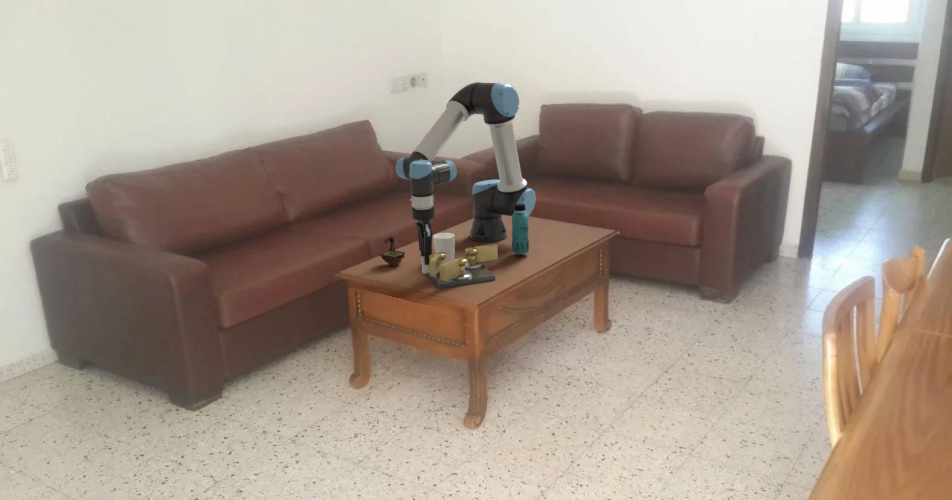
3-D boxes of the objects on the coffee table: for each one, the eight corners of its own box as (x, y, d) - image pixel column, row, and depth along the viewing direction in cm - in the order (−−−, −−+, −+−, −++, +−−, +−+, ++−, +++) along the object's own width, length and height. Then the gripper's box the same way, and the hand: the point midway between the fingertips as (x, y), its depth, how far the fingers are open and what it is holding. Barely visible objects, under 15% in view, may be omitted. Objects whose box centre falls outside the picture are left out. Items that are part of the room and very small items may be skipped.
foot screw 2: (460, 271, 277) (460, 254, 275) (471, 273, 274) (470, 257, 272) (437, 280, 268) (436, 264, 266) (447, 283, 265) (446, 266, 263)
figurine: (410, 263, 294) (408, 232, 290) (397, 270, 288) (395, 238, 284) (389, 260, 299) (387, 229, 295) (376, 266, 293) (373, 235, 289)
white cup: (446, 256, 301) (444, 231, 298) (460, 260, 295) (459, 235, 292) (430, 261, 295) (429, 236, 292) (444, 266, 290) (443, 240, 287)
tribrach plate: (478, 264, 290) (478, 255, 289) (495, 279, 274) (495, 270, 273) (426, 272, 284) (425, 263, 283) (440, 288, 268) (439, 279, 267)
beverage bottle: (508, 256, 298) (507, 204, 292) (519, 251, 303) (518, 201, 296) (521, 259, 294) (520, 207, 288) (533, 254, 298) (532, 203, 292)
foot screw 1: (435, 266, 283) (434, 250, 281) (448, 266, 282) (447, 250, 280) (426, 277, 272) (425, 261, 270) (439, 278, 271) (438, 261, 269)
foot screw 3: (468, 266, 281) (467, 250, 279) (463, 262, 285) (463, 247, 283) (499, 262, 284) (498, 246, 283) (494, 258, 289) (494, 242, 287)
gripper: (407, 203, 271) (411, 268, 278) (416, 212, 259) (420, 280, 267) (428, 201, 273) (432, 265, 281) (438, 210, 262) (442, 276, 269)
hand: (426, 272), depth 274 cm, fingers closed
